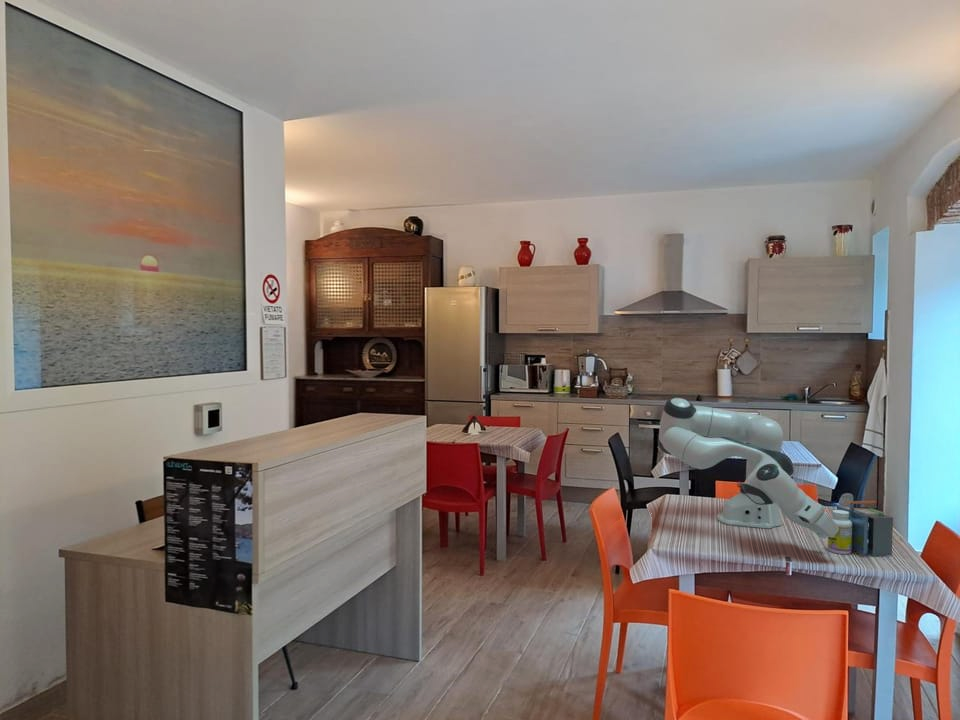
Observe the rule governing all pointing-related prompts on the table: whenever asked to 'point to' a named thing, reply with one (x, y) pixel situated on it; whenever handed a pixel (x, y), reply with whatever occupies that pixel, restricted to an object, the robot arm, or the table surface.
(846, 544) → the supplement bottle
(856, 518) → the gauge plunger
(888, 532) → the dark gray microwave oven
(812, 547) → the table surface
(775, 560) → the table surface
